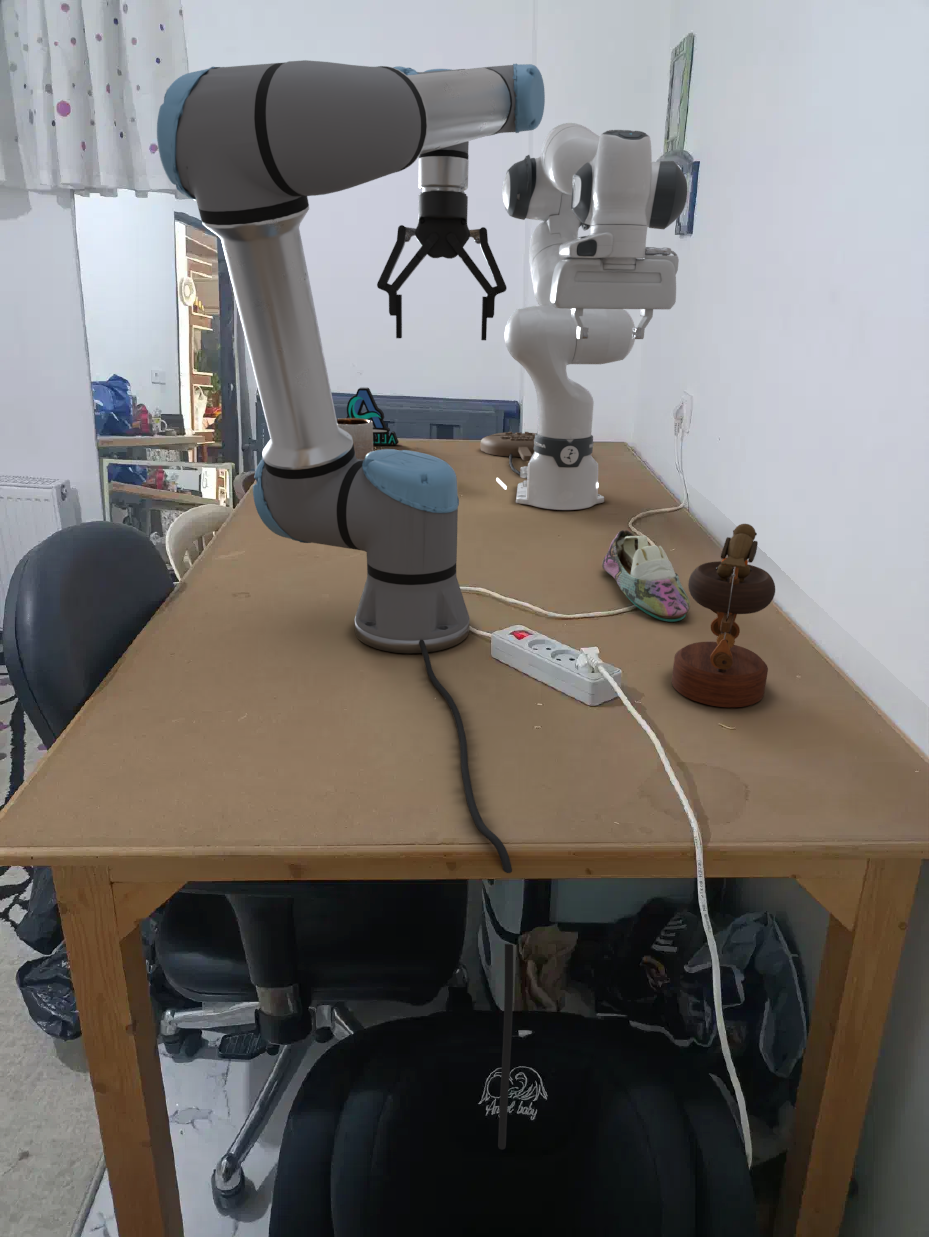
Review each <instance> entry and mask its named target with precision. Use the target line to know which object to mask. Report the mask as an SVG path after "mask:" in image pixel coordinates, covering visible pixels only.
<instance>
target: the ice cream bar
mask: <svg viewBox="0 0 929 1237" xmlns="http://www.w3.org/2000/svg"><path fill="white" fill-rule="evenodd" d="M536 433H537V432H529V431H524V432H517V431H516V432H513V431H508V432H505V431H504V432H497V433H493V434H490V435H486V436H483V438H482V439H481V440H480V448H479V449H480V451H481V452H483V453H486V454H488V455H493V456H500V457H509V456H510V454H512V458H513V457H514V458H515V457H517V458H519V457H520V458H521V460H522V461H525V462H529V461H530V459H531V457H532V456H533V454H534V452H535V451H534V439H535V434H536Z"/></svg>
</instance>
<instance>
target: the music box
mask: <svg viewBox="0 0 929 1237" xmlns="http://www.w3.org/2000/svg"><path fill="white" fill-rule="evenodd" d="M757 535H758V534H757V532H756V529H755V528H754V526H752V525H751V524H749V523H740V524H739V525H737V526H736V527H735V528H734V529H733V530H732V536H731V537H730V536H727V537H726V538H725V541H724V543H723V547H722V550H721V553H720V559H722V560H720V561H719V560H718V561H717V560H716V561H709V562H705V563H702V564H700V565H698V566H697V567H695V569H694V570H692V572H691V574H690V576H689V578H688V583H687V585H688V591H689V594H690V596H691V598H692V599H693V600H694V601H695V602H696V603H697V604H698V605H700V606H702V607H703V608H705V609H708V610H709V611H711V612H712V613H714V614H715V615H716V616H717V617H716V618H714V619H713V620H712V621H711V622H710V631H711V633H712V634H713V635H714V636H716V639H715V641H699V642H693V643H689V644H687V645H685V646H684V647H682V648H681V649H679V650H677V651H676V653H674V659H673V665H672V674H671V684H672V687H673V688H674V689H675V691H677V692H678V693H679V694H680V695H682V696H683V697H685V698H687V699H689V700H692V701H694V702H696V703H700V704H703V705H706V706H707V705H708V706H713V707H719V708H720V707H721V708H743V707H748V706H752V705H755V704H757V703H759V702H760V701H761V700H762V699H763V698H764V695H765V690H766V685H767V678H768V672H769V667H768V664H767V663H766V661H764V659H763V658H761V656H760V655H759V654H757V653H756V652H755V651H752V650H750V649H748V648H746V647H743V646H741V645H738V644H737V645H736V644H735V643H736V639H737V638H739V635H740V633H741V629H740V626H739V624H738V623H737V622H736V619H737V617H738V616H737V615H748V614H756V613H758V612H760V611H762V610H764V609H766V608H767V607H768V606H769V605H770V604H771V603H772V601H773V600H774V597H775V595H776V584H775V580H774V579H773V577H772V576H771V575H770V573H769V572H768V571H766V570H764V568H763V569H762V568H761V567H758V566H755V565H752V563H753V562H754V560H755V557H756V554H757V550H758V540H755V539H756V537H757ZM749 563H750V564H749Z"/></svg>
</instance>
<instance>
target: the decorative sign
mask: <svg viewBox="0 0 929 1237" xmlns="http://www.w3.org/2000/svg"><path fill="white" fill-rule="evenodd" d="M364 407H365V410H366V411H362V410H363V408H364ZM345 418H362V419H368V420H371V421H372V425H373V446H374V445H375V446H377V445H378V446H380V445H381V446H391V445H393V446H397V445H398V444H399V442H400V441H399V439H398V436H397V433H396V432H395V431H394V430H393V431H391V428H390V427H387V425H386V422H385V420H384V419H385V413H384V412H383V410H382V409H381V408H380V407H378V404H377V402H376V400H375V398H374V396H373V393H372V391H371V389H370V387H365V386H363V387H362V386H361V387H359V388H358V389H357V391H356V392H355V394H353V395H352V396H351V397H350V398H349V399H348V401H347V405H346V417H345ZM390 431H391V432H390Z"/></svg>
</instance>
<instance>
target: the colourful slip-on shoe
mask: <svg viewBox="0 0 929 1237" xmlns="http://www.w3.org/2000/svg"><path fill="white" fill-rule="evenodd" d="M648 540H649V539H648V536H647V535H635V534H634V533H632V532H631V531H629V530H627V529H622V530H621V529H620V530H619V531H618V532H617V533H616V535H615V537H614V538H613V539H612V541H611V542H610V545H609V548H608V551H607V552H606V554H605V556H604V557H603V559H602V561H601V567H602V569H603V570H604V571H605V572H606V573H607V574H609V575H610V576H612V577H613V579H614V580H615V582H616V584H617V585H618V588H619V589H620V591H621V592H622V593H623V594H624V595H625V597H626V598H627V599H628V600H629V601H630V602H631V603H632V604H633V605H634V606H635V607H636V608H638V610H641V611H642V612H644V613H645V614H647V615H649V616H651V618H655V619H657V620H658V621H659V620H660V621H663V622H669V623H670V622H671V623H673V622H674V623H675V622H680V621H682V620H683V619H684V618H686V616H687V613H688V611H689V610H690V607H691V602H690V598H689V597H688V595H687V593H686V590H685V589H684V587H683V585H682V583H681V580H680V577H679V575H678V573H676V572H675V569H674V567H673V563H672V562H671V561H670V559H669V558H668V555H667V553H666V551H665V550H664V549H663V547H662V546H661V545H656V544H653V545H649V541H648Z"/></svg>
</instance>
